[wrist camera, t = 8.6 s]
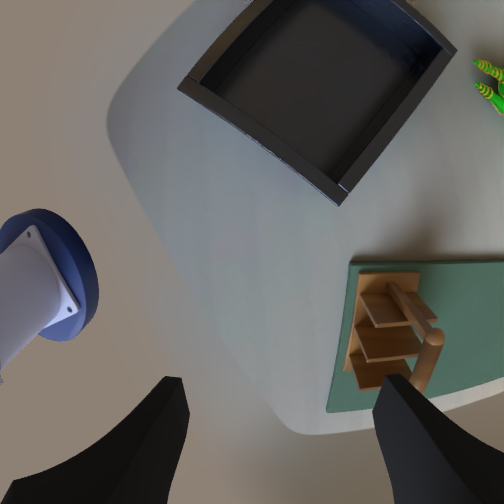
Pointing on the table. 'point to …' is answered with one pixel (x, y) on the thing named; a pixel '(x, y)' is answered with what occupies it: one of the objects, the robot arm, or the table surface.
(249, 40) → the open box
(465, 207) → the table surface
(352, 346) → the dish rack
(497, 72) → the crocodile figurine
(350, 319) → the drying mat
